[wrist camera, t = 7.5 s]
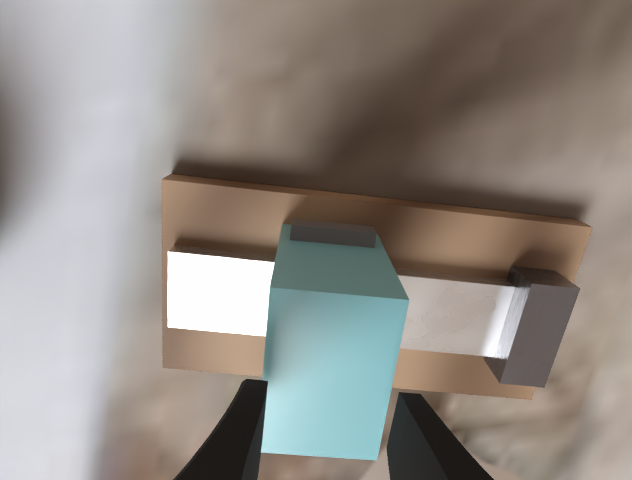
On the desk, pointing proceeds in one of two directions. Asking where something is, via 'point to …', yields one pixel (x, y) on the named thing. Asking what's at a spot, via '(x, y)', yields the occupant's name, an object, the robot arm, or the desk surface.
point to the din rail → (422, 315)
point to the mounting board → (399, 243)
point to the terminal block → (330, 341)
